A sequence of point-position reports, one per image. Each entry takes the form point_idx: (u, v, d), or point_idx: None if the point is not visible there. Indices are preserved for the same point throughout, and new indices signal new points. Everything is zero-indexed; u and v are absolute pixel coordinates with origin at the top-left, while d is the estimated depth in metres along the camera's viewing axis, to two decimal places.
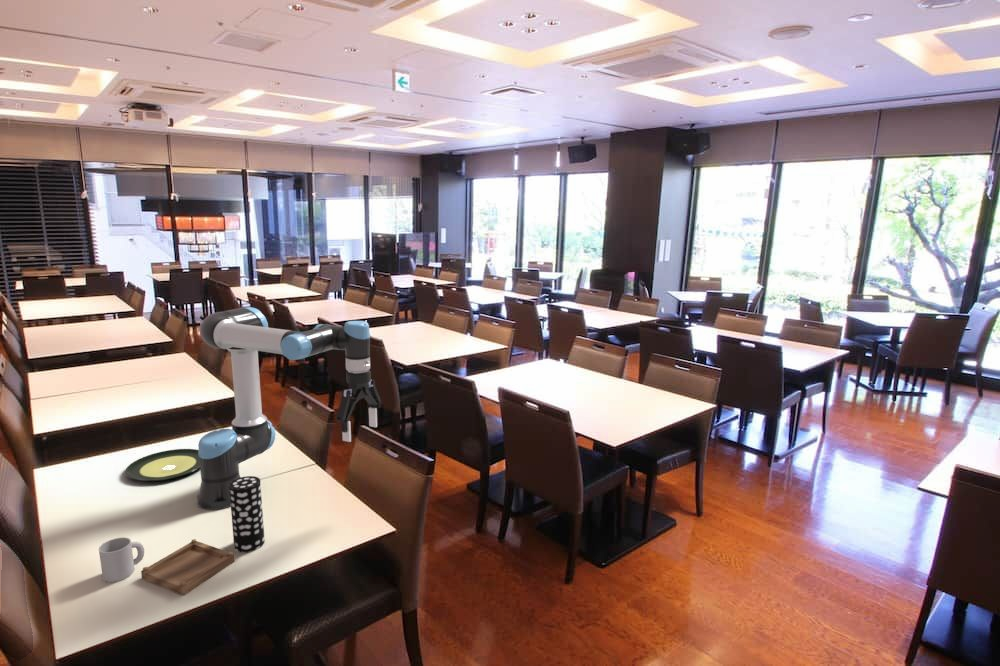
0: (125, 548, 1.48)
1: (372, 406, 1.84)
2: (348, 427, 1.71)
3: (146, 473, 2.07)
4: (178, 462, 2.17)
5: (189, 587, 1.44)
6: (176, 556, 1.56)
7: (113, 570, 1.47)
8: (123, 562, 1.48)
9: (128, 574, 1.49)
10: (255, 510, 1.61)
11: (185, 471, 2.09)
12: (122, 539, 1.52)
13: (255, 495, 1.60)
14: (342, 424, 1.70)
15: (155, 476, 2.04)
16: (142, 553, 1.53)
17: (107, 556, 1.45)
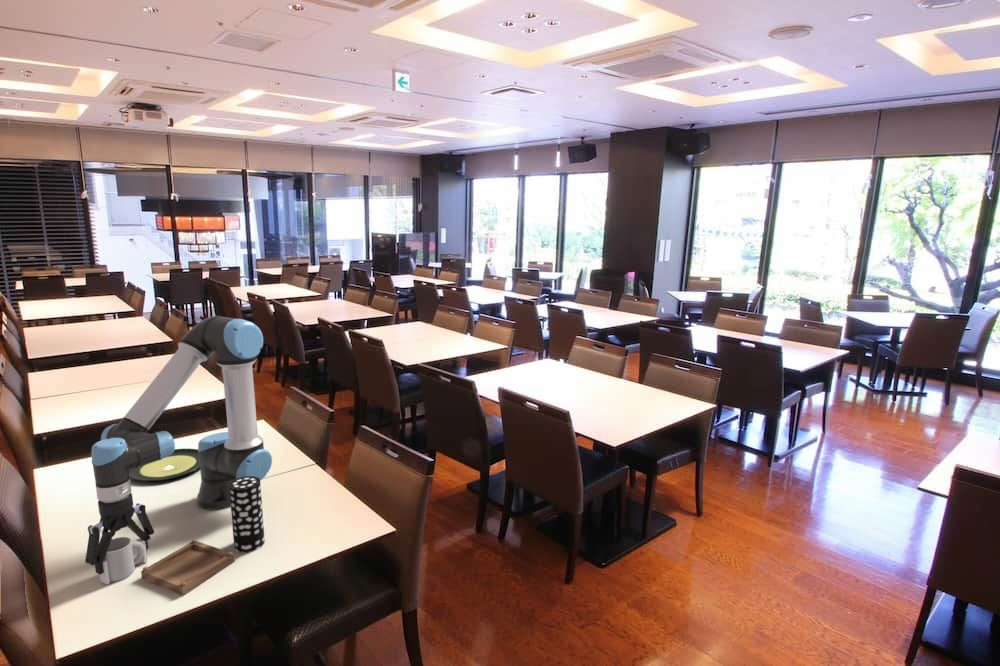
0: (125, 548, 1.48)
1: (140, 537, 1.55)
2: (104, 568, 1.45)
3: (146, 473, 2.07)
4: (178, 462, 2.17)
5: (189, 587, 1.44)
6: (176, 556, 1.56)
7: (113, 570, 1.47)
8: (123, 562, 1.48)
9: (128, 574, 1.49)
10: (255, 510, 1.61)
11: (185, 471, 2.09)
12: (122, 539, 1.52)
13: (255, 495, 1.60)
14: (95, 565, 1.44)
15: (155, 476, 2.04)
16: (142, 553, 1.53)
17: (107, 556, 1.46)
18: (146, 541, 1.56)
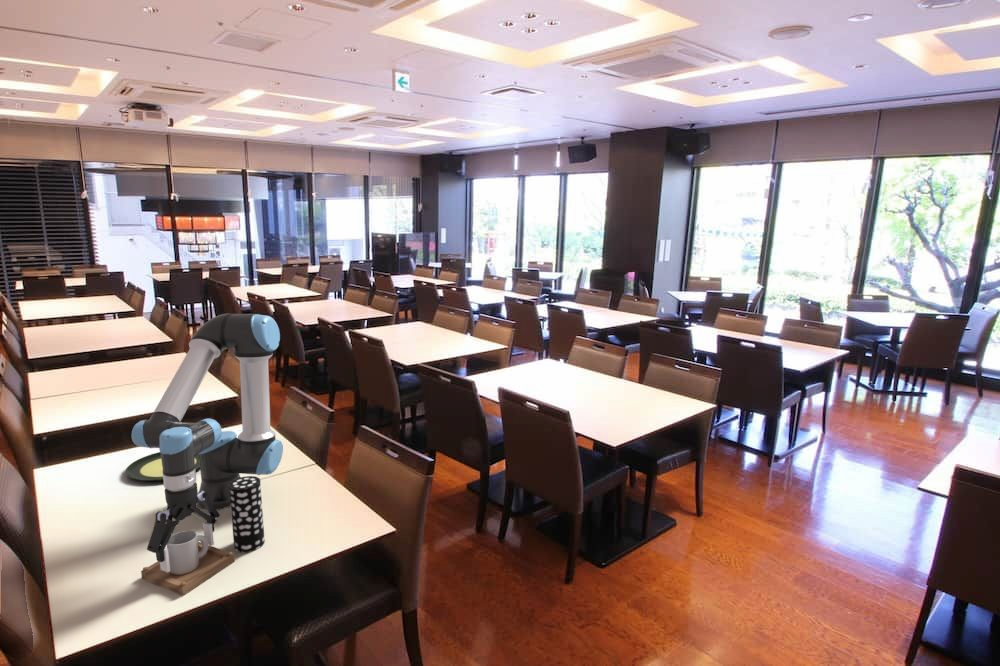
0: (192, 541, 1.49)
1: (207, 521, 1.57)
2: (165, 556, 1.44)
3: (147, 473, 2.07)
4: None
5: (189, 587, 1.44)
6: None
7: (180, 562, 1.48)
8: (190, 555, 1.49)
9: (194, 567, 1.51)
10: (255, 510, 1.61)
11: None
12: (187, 532, 1.54)
13: (255, 495, 1.60)
14: (157, 553, 1.44)
15: (156, 476, 2.05)
16: (206, 547, 1.55)
17: (175, 548, 1.47)
18: (212, 524, 1.58)
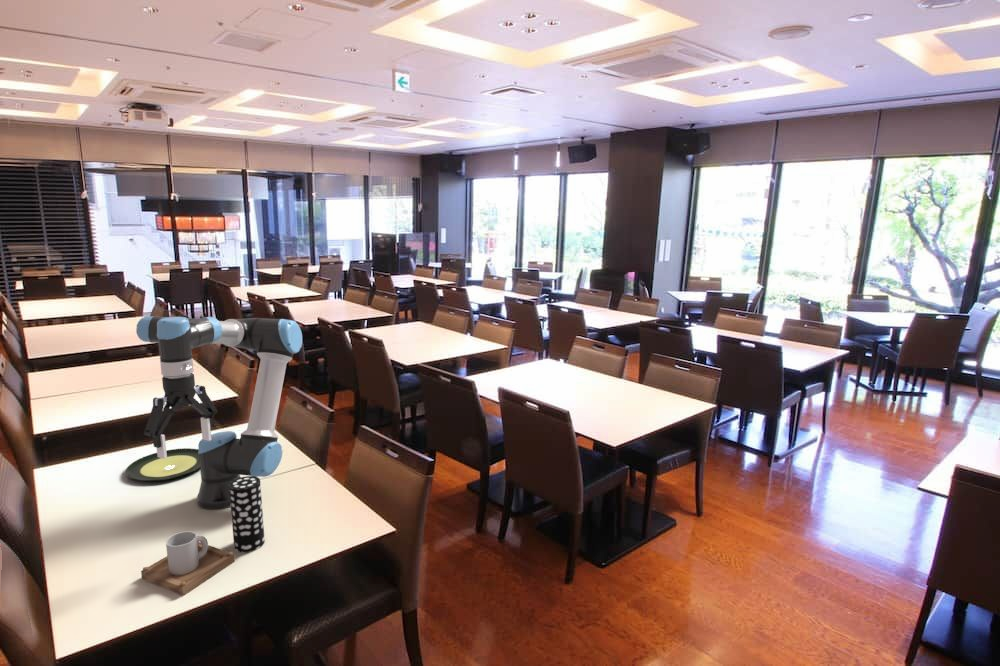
0: (191, 542, 1.49)
1: (205, 416, 1.59)
2: (162, 441, 1.46)
3: (147, 473, 2.07)
4: (178, 461, 2.17)
5: (189, 587, 1.44)
6: None
7: (180, 563, 1.48)
8: (190, 556, 1.49)
9: (194, 568, 1.51)
10: (255, 510, 1.61)
11: (186, 470, 2.09)
12: (187, 533, 1.53)
13: (255, 495, 1.60)
14: (154, 438, 1.45)
15: (156, 476, 2.05)
16: (206, 547, 1.55)
17: (175, 550, 1.47)
18: (210, 420, 1.59)
